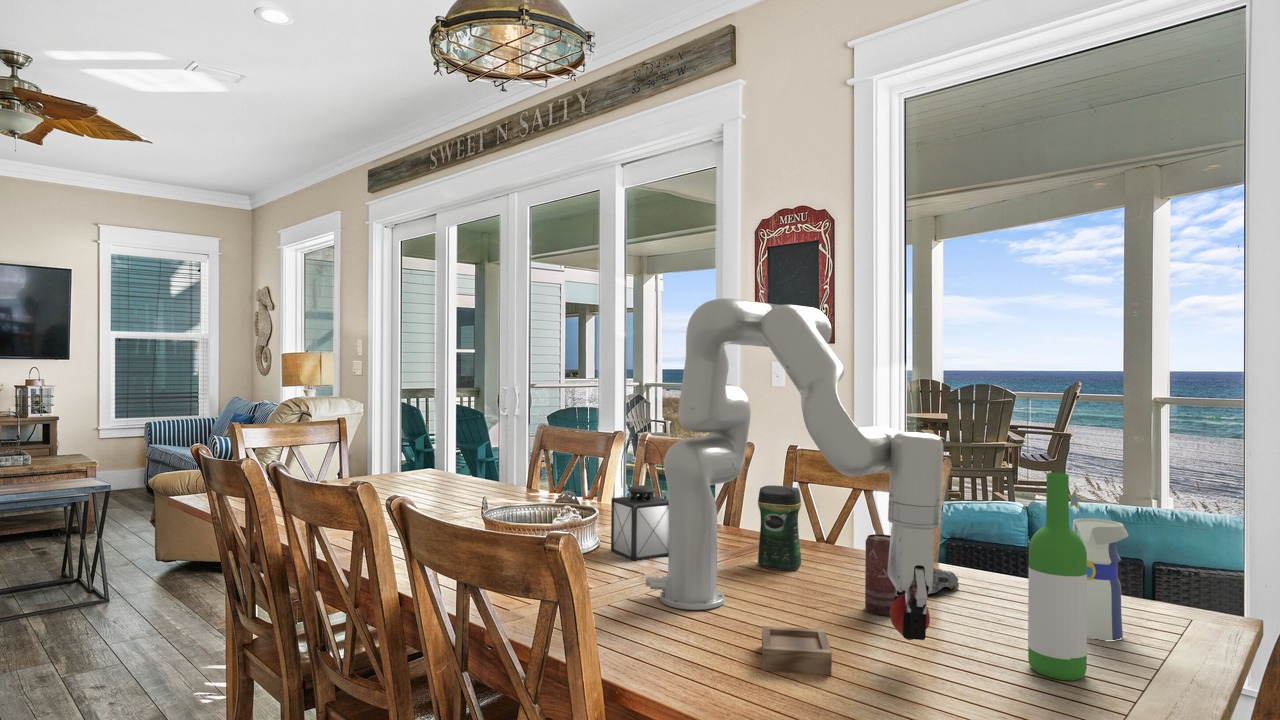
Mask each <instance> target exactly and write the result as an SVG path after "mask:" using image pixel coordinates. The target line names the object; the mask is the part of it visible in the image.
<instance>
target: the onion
mask: <svg viewBox="0 0 1280 720" xmlns="http://www.w3.org/2000/svg"><path fill="white" fill-rule="evenodd" d="M909 591H914V589H911V588H910V589H909ZM913 598H915V596H912V595H911V600H912V599H913ZM926 608H927V613H926V614H927V615H926V630H927V629H928V628H929V625H930V622H931V617H930V612H929V609H928V606H927V605H926ZM903 611H906V601H905V593H904V594H902V595H900V596H899V597H898V598H897V599H895V601H894V602H893V603H892V605H891V608H890V616H889V617H890V622H891V625H892V626H893V627H894V629H895V630H896V631H897V632H898V633H899V634H900V635H901V636H902V637H903V635H902V632H903ZM906 640H907V641H913V640H914V639H906Z"/></svg>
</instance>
